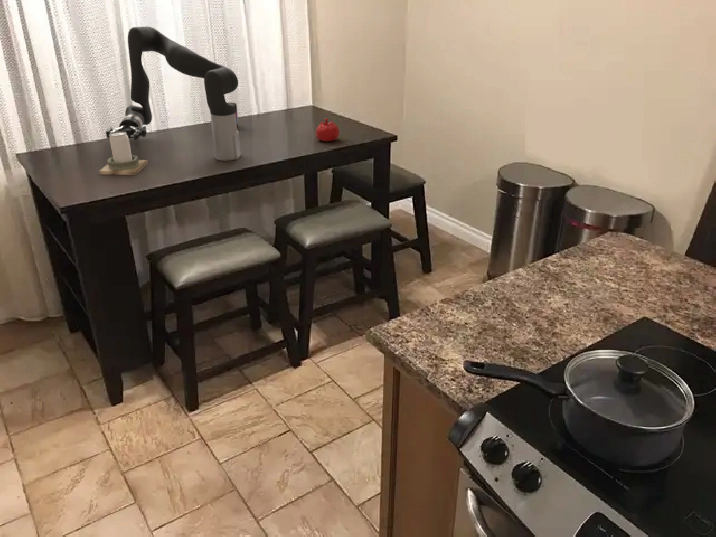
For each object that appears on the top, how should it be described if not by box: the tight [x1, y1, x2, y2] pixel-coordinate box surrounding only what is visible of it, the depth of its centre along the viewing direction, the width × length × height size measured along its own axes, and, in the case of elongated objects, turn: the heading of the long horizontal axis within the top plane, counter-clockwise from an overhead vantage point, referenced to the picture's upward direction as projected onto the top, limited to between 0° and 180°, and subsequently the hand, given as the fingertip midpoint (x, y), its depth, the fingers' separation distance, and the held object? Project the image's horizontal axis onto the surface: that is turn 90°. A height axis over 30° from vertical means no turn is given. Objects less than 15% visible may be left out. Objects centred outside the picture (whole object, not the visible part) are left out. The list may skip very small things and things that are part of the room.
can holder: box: [99, 154, 149, 176], centre depth 225 cm, size 13×13×4 cm
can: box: [108, 131, 133, 163], centre depth 223 cm, size 6×6×12 cm
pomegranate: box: [315, 118, 340, 142], centre depth 256 cm, size 10×10×9 cm
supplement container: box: [228, 101, 239, 128], centre depth 272 cm, size 7×7×10 cm
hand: (123, 137), depth 227 cm, fingers open, 8 cm apart
